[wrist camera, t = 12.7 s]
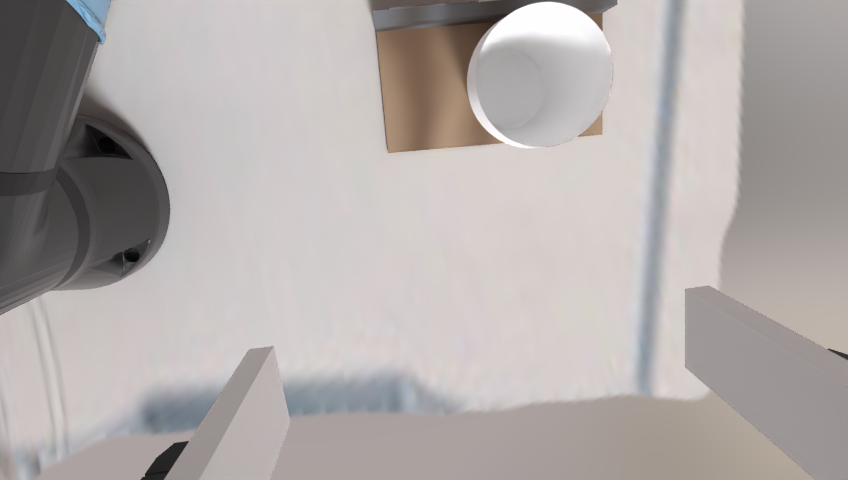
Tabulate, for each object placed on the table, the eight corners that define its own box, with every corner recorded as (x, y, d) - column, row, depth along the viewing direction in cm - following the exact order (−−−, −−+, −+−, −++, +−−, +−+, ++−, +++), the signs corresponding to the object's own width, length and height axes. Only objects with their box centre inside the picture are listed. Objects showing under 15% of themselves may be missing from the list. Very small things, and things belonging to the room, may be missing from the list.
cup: (539, 16, 41) (592, -26, 29) (571, 120, 43) (633, 118, 32) (439, 58, 42) (451, 32, 30) (475, 158, 44) (500, 171, 32)
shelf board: (388, 152, 44) (386, 155, 40) (375, 17, 41) (372, 8, 38) (599, 134, 44) (616, 135, 41) (599, -1, 42) (617, -13, 38)
